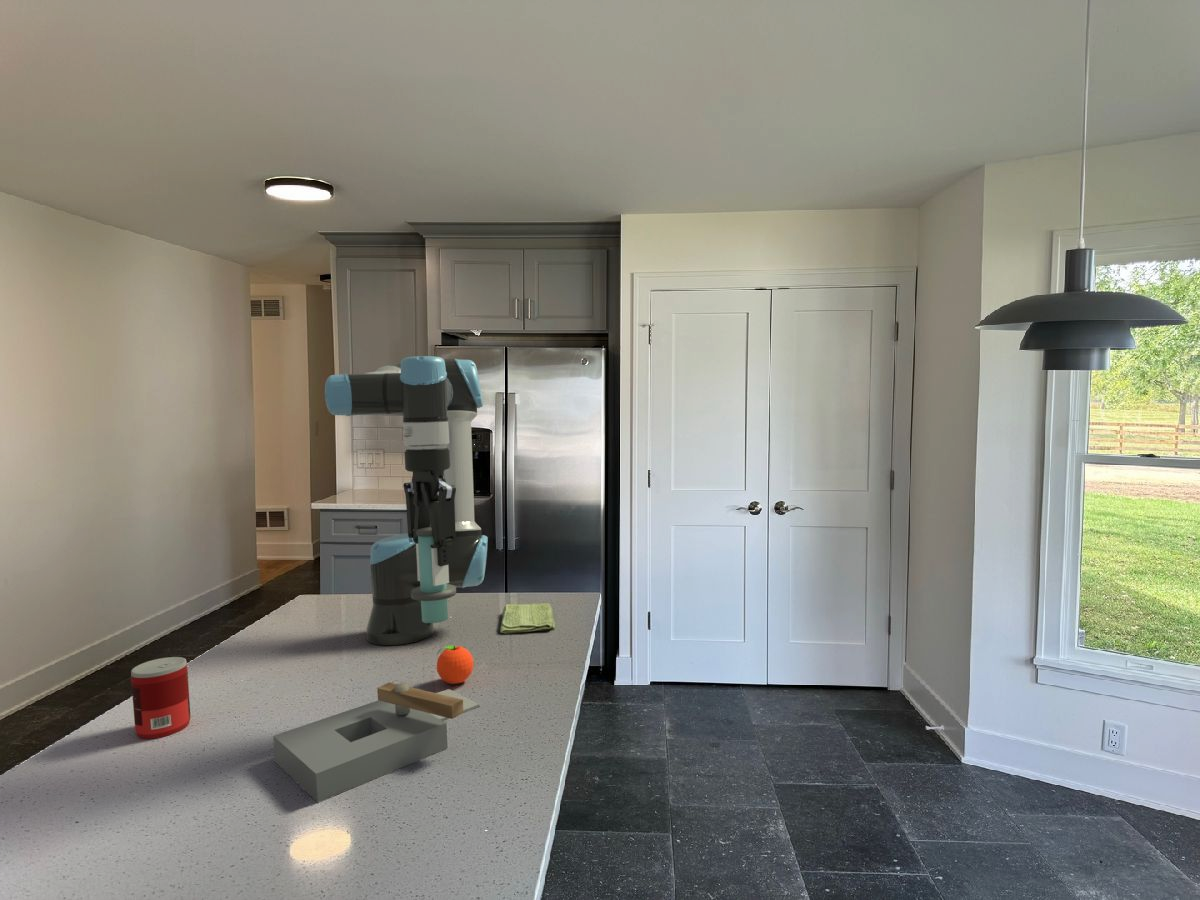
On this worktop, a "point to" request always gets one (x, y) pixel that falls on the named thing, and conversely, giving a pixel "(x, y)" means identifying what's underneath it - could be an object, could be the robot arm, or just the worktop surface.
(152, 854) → the worktop surface
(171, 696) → the canned food
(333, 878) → the worktop surface
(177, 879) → the worktop surface
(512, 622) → the washcloth
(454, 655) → the clementine
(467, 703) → the mat
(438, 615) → the plug
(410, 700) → the brown wooden lever
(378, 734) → the socket block
